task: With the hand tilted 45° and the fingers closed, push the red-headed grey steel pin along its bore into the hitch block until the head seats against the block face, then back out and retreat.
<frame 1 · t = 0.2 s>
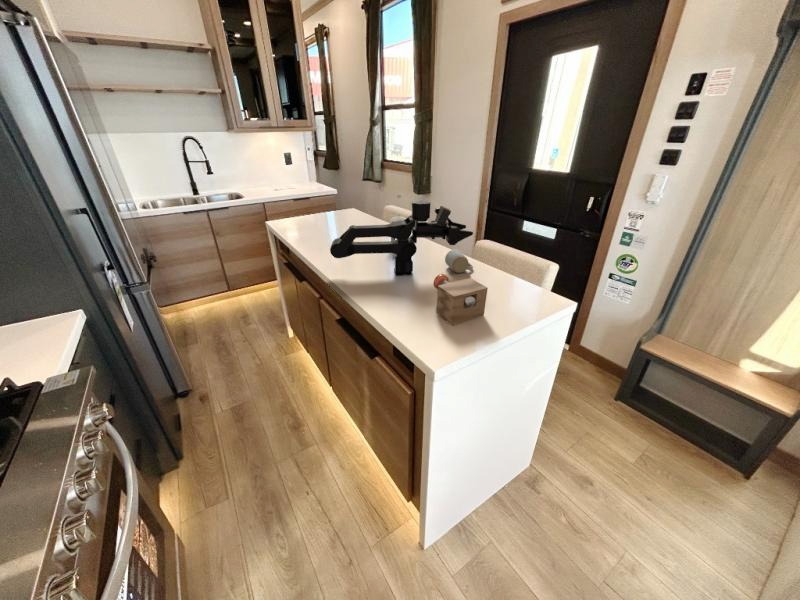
hand: (469, 229, 121), 17 cm above the countertop, tool horizontal, fingers open, 9 cm apart
ceramic mug: (459, 270, 130), on the countertop
hitch block: (459, 314, 98), on the countertop
steel pin: (454, 291, 98), point 7 cm above the countertop, slide at 0.0 cm
french press: (398, 248, 154), on the countertop
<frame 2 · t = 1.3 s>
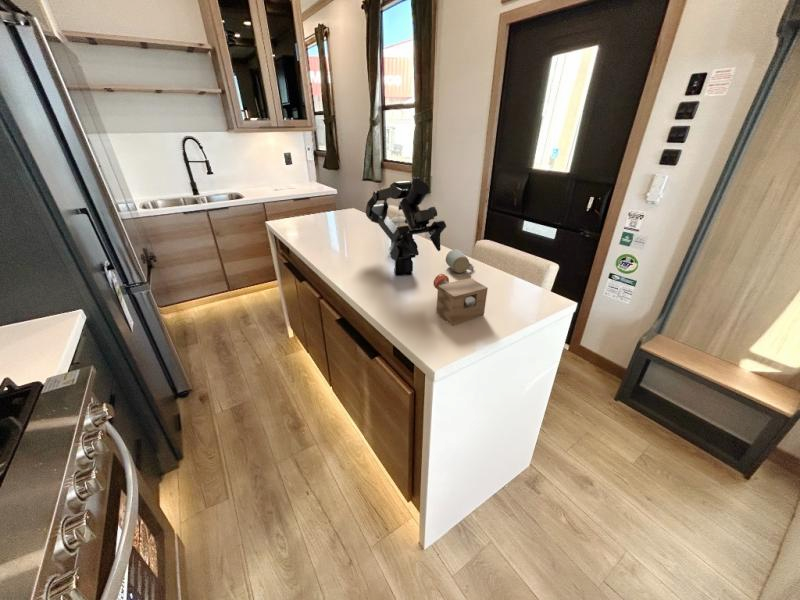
hand: (428, 252, 107), 14 cm above the countertop, tool tilted 45°, fingers open, 8 cm apart
nothing on the countertop moved.
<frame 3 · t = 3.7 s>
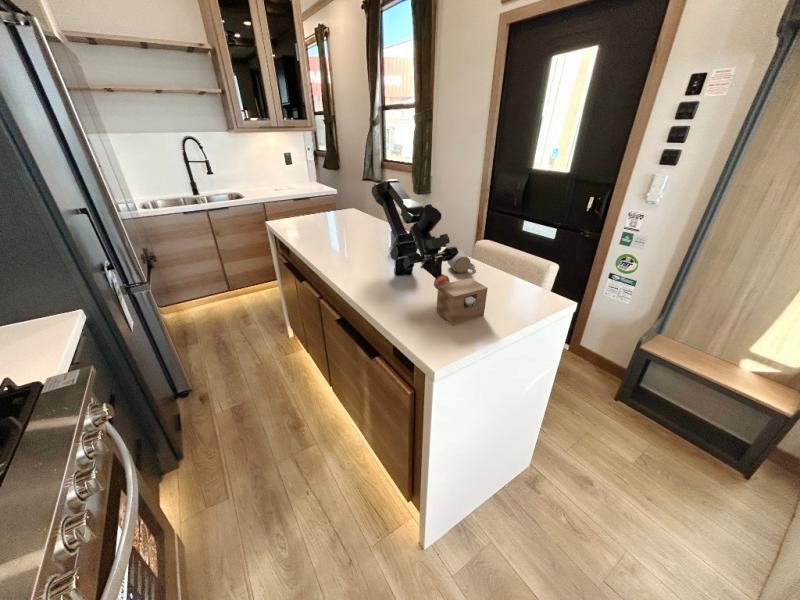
hand: (440, 280, 104), 7 cm above the countertop, tool tilted 45°, fingers closed, pressing on steel pin
steel pin: (455, 291, 98), point 7 cm above the countertop, slide at 0.3 cm, touching gripper
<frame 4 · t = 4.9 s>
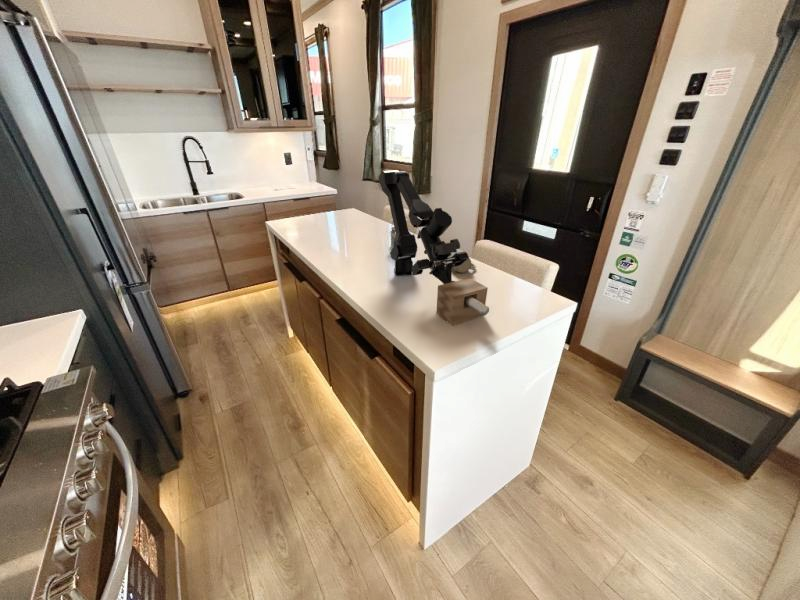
hand: (450, 287, 100), 7 cm above the countertop, tool tilted 45°, fingers closed
steel pin: (466, 299, 93), point 7 cm above the countertop, slide at 5.8 cm
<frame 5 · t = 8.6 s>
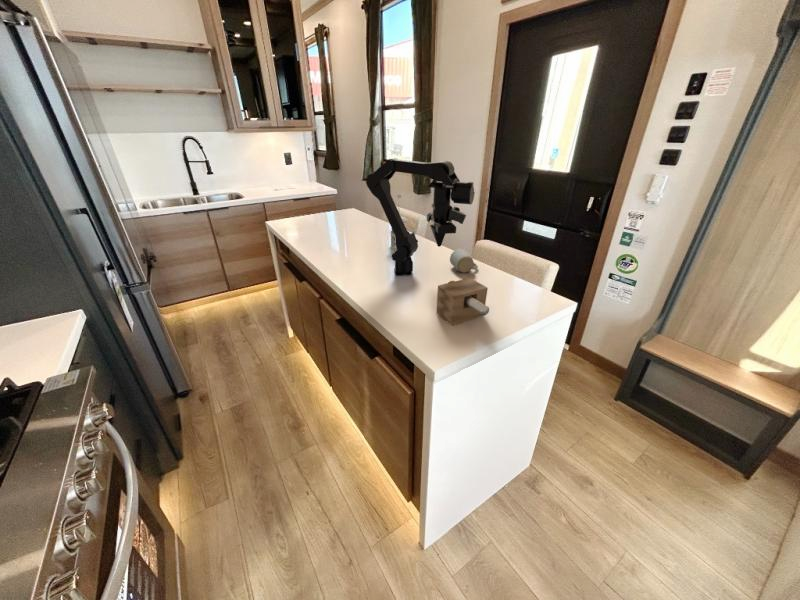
hand: (439, 246, 115), 13 cm above the countertop, tool pointing down, fingers closed
at the end: steel pin slide at 5.8 cm; steel pin touching nothing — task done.
